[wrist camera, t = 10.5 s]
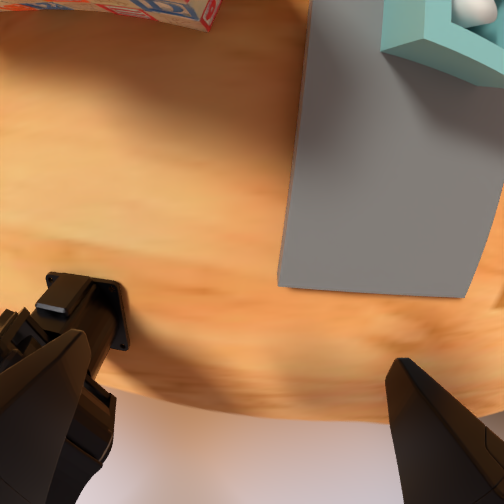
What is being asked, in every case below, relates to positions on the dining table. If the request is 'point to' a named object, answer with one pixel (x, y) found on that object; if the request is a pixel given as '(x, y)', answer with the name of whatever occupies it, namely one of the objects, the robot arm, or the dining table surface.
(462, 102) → the grey piece
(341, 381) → the dining table surface
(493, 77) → the teal hollow block
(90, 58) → the dining table surface
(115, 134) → the dining table surface
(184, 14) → the stack of blocks
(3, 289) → the dining table surface
